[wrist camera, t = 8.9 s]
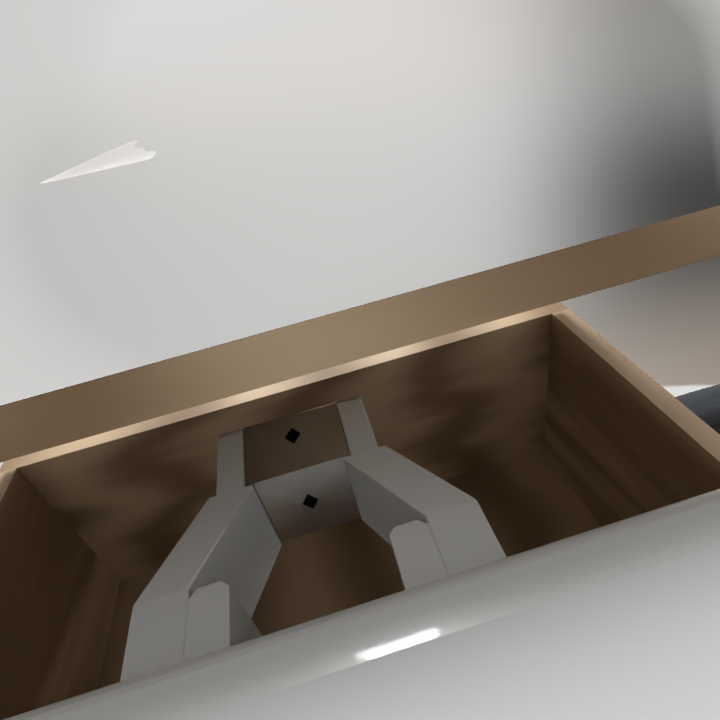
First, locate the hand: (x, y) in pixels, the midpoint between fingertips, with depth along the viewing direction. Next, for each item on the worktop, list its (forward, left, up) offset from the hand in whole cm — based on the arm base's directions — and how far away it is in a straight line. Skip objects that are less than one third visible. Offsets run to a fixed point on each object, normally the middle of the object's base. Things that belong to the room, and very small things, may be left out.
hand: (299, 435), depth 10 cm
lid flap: (-1, +3, -1) cm, 4 cm away
